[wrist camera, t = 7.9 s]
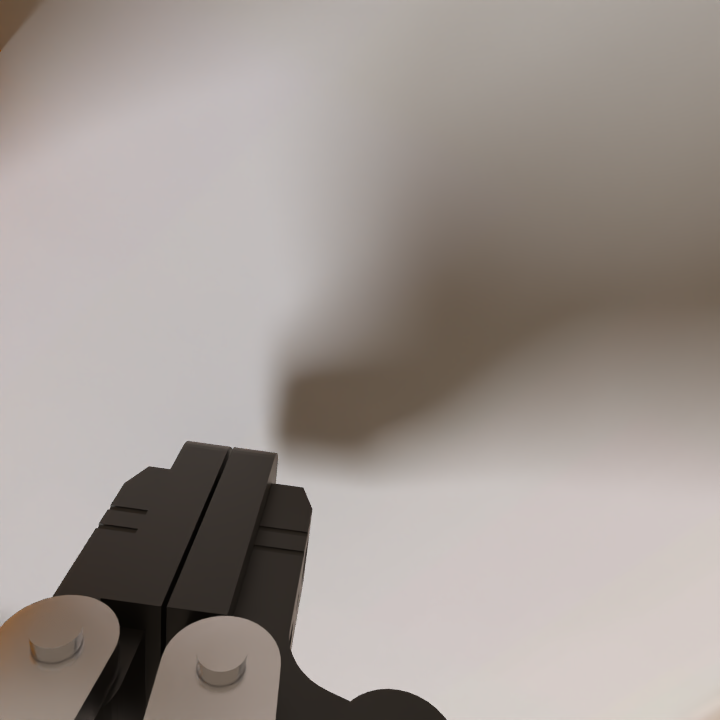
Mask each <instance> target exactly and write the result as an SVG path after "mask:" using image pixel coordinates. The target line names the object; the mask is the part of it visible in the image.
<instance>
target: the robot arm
mask: <svg viewBox="0 0 720 720" xmlns="http://www.w3.org/2000/svg"><path fill="white" fill-rule="evenodd" d="M277 464H278V454H277V453H272V452H265V451H257V450H250V449H243V448H236V447H234V448H233V449H232V448H231V447H228V446H220V445H213V444H206V443H199V442H192V441H187V442H186V443H185V444H184V445H183V447H182V449H181V451H180V453H179V455H178V456H177V458H176V460H175V462H174V464H173V466H172V467H171V469H164V468H157V467H150V466H149V467H148V468H146V469H145V470H143V471H142V472H140V473H139V474H137V475H136V476H134V477H133V478H131V479H130V480H129V481H127V482H126V483H124V485H123V486H122V488H121V490H120V491H119V493H118V494H117V496H116V497H115V499H114V501H113V502H112V504H111V507H110V510H107V512H106V513H105V515H104V516H103V518H102V520H101V521H100V523H99V527H98V528H96V529H95V531H94V532H93V534H92V535H91V537H90V538H89V540H88V542H87V543H86V545H85V546H84V548H83V550H82V551H81V553H80V554H79V556H78V557H77V559H76V561H75V562H74V564H73V565H72V567H71V568H70V570H69V572H68V573H67V575H66V576H65V578H64V579H63V581H62V583H61V584H60V586H59V587H58V589H57V590H56V592H55V594H54V595H53V597H51V598H47V599H43V600H41V601H38V602H35V603H33V604H31V605H29V606H27V607H25V608H23V609H22V610H20V611H18V612H17V613H15V614H14V615H13V616H12V617H10V618H9V619H8V620H7V621H6V622H5V623H4V624H3V625H2V626H1V627H0V720H446V718H445V717H444V716H443V715H442V714H441V713H440V712H439V711H438V710H437V709H436V708H435V707H434V706H432V705H431V704H430V703H429V702H427V701H425V700H424V699H422V698H420V697H418V696H416V695H414V694H411V693H409V692H405V691H401V690H394V689H380V690H374V691H370V692H367V693H364V694H362V695H360V696H358V697H356V698H355V699H353V700H352V701H351V702H350V701H348V700H346V699H344V698H342V697H340V696H337V695H335V694H333V693H331V692H329V691H327V690H325V689H323V688H322V687H320V686H318V685H317V684H315V683H314V682H313V681H311V680H310V679H309V678H308V677H307V676H306V675H305V674H304V673H303V672H302V671H301V669H300V668H299V666H298V665H297V663H296V661H295V659H294V657H293V655H292V652H291V647H292V642H293V636H294V630H295V625H296V619H297V614H298V607H299V602H300V597H301V591H302V585H303V579H304V571H305V563H306V555H307V547H308V540H309V532H310V524H311V516H312V507H311V505H310V502H309V500H308V498H307V495H306V493H305V491H304V488H302V487H295V486H288V485H280V484H276V475H277Z"/></svg>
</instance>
